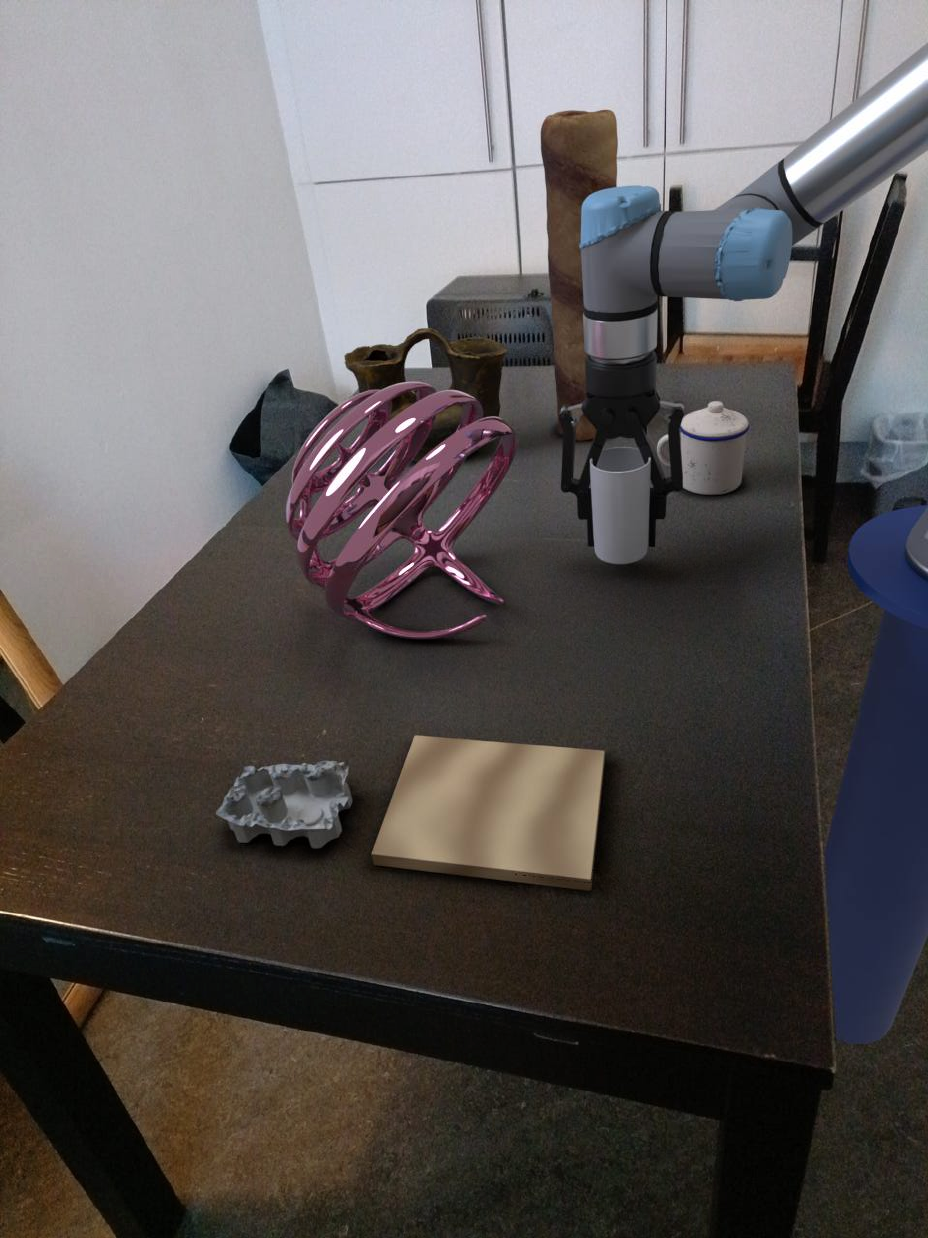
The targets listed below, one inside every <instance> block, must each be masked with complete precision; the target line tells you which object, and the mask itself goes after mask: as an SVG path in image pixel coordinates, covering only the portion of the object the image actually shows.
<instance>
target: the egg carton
mask: <svg viewBox="0 0 928 1238" xmlns="http://www.w3.org/2000/svg"><path fill="white" fill-rule="evenodd" d="M349 768H350V765H349V764H348V763H347V762H345V761H342V762H340V761H338V760H321V761H316V764H310V763H306V762H302V763H301V764H289V763H279V764H272V765H269V766H262V767H260V768H257V767H256V766H255V765H248V766H243V768H242V773H241V775H240V777H239V776H237V777H236V778H235V781H234V784H233V786H231V788H229V791H228V793H227V794H226V795H225V796H224V797H223V802H222V805H221V806H219V808H218V809H217V810H216V812H215V815H217V816H218V817H220V818H222V819H223V820H226V821H227V823H228V825H229V829H230V830H231V831H233V833H234V834H235V838H236V840H237V842H238V843H240V844H241V843H242V844H245V843H246V844H249V843H250V842H251V841H252V840H253V839H254V838H256V837H258V835H262V834H266V835H270V836H271V840H272V843H273V845H274V846H278V847H279V846H280V847H284V846H286V845H288V843H289V842H290V841H291V840H294V839H295V838H298V837H305V838H307V839H308V842H309V845H310V847H311V848H312V849H322V848H323V847H324V846H325V845H326V844H327V843H329V842H330V841H332V840H335V839H337V838H339V837H340V835H341V833H342V832H343V828H342V824H341V820H340V817H339V813H340V812H341V811H343V810H348V809H350V808H351V806H352V804H353V797H352V793H351V790H350V789H351V788H350V787H349V784H348V782H346V779H347V776H348V775H349Z"/></svg>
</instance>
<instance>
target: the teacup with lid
mask: <svg viewBox="0 0 928 1238" xmlns="http://www.w3.org/2000/svg"><path fill="white" fill-rule="evenodd" d="M749 430H750V423H749V420H748V418H747V417H746V416H745V415H744V414H742V413H740V412H738V411H735V410H731V409H728V408H726V407H724V403H723V402H722V401H719V400H714V401H710V402H709V403H708V404H707V407H704V408H702V409H698V410H694V411H692V412H689V413H687V414H686V415H684V416H683V420H682V423H681V426H680V439H681V454H682V469H683V489H685V490H686V491H688V492H690V493H694V494H697V495H703V496H719V495H724V494H728V493H731V492H733V491H735V490H736V489H738V488H739V487H740V485H741V484H742V482H743V480H742V479H743V472H744V471H743V470H744V463H745V462H744V461H745V453H746V452H745V451H746V442H747V433H748V431H749ZM667 442H669V440H668V433H667V434H665V435H663V436H662V437H661V438H660V439H659V440H658V442H657V446H656V454H657V456H658V459H659V462H660V463H662V464H663V465H664V466H666V467H668V468H671V467H670V459H669V458H667V457H666V456H665V454H664V452H663V447H664V445H665V444H666V443H667Z"/></svg>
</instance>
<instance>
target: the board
mask: <svg viewBox="0 0 928 1238" xmlns="http://www.w3.org/2000/svg"><path fill="white" fill-rule="evenodd" d="M605 764H606V751H605V750H601V749H588V748H578V747H566V746H565V747H564V746H554V745H553V746H552V745H539V744H529V743H528V744H527V743H517V742H515V743H514V742H502V741H491V740H480V739H479V740H478V739H477V740H476V739H467V738H452V737H440V736H429V735H417V734H416V735H414V737H413V738H412V741H411V745H410V748H409V750H408V753H407V756H406V757H405V761H404V764H403V767H402V769H401V772H400V775H399V777H398V780H397V783H396V785H395V788H394V791H393V793H392V797H391V800H390V802H389V804H388V807H387V809H386V813H385V815H384V817H383V821H382V823H381V826H380V830H379V832H378V835H377V837H376V840H375V843H374V845H373V849H372V851H371V853H370V854H371V857H372V861H373V865H374V866H381V867H388V868H395V869H403V870H413V871H421V872H430V873H438V874H446V875H456V876H462V877H471V878H479V879H488V880H497V881H505V882H511V883H512V882H514V883H521V884H529V885H538V886H546V887H554V888H555V887H556V888H563V889H571V890H572V889H573V890H580V891H587V892H591V891H592V887H593V880H594V879H593V878H594V868H595V860H596V849H597V840H598V832H599V821H600V812H601V802H602V793H603V784H604V776H605V775H604V774H605V773H604V772H605V766H606V765H605ZM592 870H593V871H592ZM515 874H517V875H515ZM523 875H526V876H523ZM529 875H530V876H529ZM532 876H535V877H532ZM539 876H540V877H544V878H540V877H539ZM549 878H554V879H549ZM557 879H565V880H557ZM591 879H592V880H591ZM566 880H570V881H566ZM573 880H575V881H581V882H574V881H573ZM583 882H591V883H583Z"/></svg>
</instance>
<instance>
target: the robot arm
mask: <svg viewBox="0 0 928 1238" xmlns="http://www.w3.org/2000/svg"><path fill="white" fill-rule="evenodd" d="M926 152H928V41H927V42H925V44H924V45H922V46H921V47H919V49H917V50H916V51H915V52H914V53H912V54H910V56H909V57H907V58H906V59H904V61H902V62H901V63H900V64H898V65H897V66H896V67H894V69H893V70H891V71H890V72H889V73H888V74H886V75H885V76H884V77H882V78H881V79H879V80H878V81H877V82H876V83H874V85H873V86H871V87H870V88H869V89H868V90H866V91H865V92H864V93H863V94H861V95H860V96H859V97H857V98H856V99H855V100H854V101H853V102H852V103H850V104H849V105H847V106H846V107H845V108H844V109H843V110H841V111H840V112H838V113H837V115H835V116H833V118H831V119H830V120H829V121H827V122H826V123H825V124H824V125H822V126H820V128H819V129H818V130H816V131H815V132H814V133H813V134H812V135H810V136H809V137H808V138H807V139H805V140H804V141H803V142H801V143H800V144H799V145H798V146H796V147H795V148H794V149H793V150H791V151H790V152H789V153H788V154H786V155H785V157H783V158H782V159H781V160H779V161H778V162H777V163H775V164H774V165H773V166H771V167H770V168H769V169H767V170H766V171H764V172H763V174H761V175H760V176H758V177H757V178H756V180H753V182H751V183H750V184H748V186H746V187H745V188H744V189H742V190H741V191H739V192H738V193H737V194H736V195H734V196H733V197H731V198H730V199H728V200H726V201H725V202H724V203H723V204H720V205H719V206H718V207H716V208H715V209H711V210H688V211H671V210H662V204H661V201H660V200H661V198H660V193H659V191H658V189H657V188H655V187H653V186H650V185H639V184H638V185H637V184H636V185H623V186H617V187H614V188H609V189H604V190H600V191H597V192H595V193H592V194H591V195H589V196H588V197H587V198H586V199H585V201H584V202H583V205H582V212H581V243H580V244H579V246H580V249H581V259H582V279H583V299H584V306H583V310H584V313H583V325H584V350H585V352H586V353H587V354H588V356H587V357H586V358H585V383H586V396H585V398H584V400H583V403H581V404H578V405H574V406H570V405H567V404H566V405H563V406H562V408H561V411H560V414H559V421H560V424H561V427H562V430H563V435H562V451H561V452H562V453H561V473H560V474H561V475H560V490H561V492H563V493H565V494H567V493H571V494H574V495H575V496H576V509H577V510H576V511H577V518H578V519H579V521H580V520H581V521H582V520H585V521H586V528H587V529H586V530H587V531H586V532H587V533H586V534H587V547H591V548H592V547H593V548H595V547H594V534H593V514H592V497H591V479H590V459H591V458H592V459H593V465H594V466H595V467H596V466H597V463H598V460H599V457H600V454H601V451H602V450H604V446H605V444H606V441H607V440H613V439H618V438H624V439H634V442H635V444H636V448H637V447H638V448H637V449H639V450H640V453H641V455H642V458H643V461H644V463H645V465H646V464H647V463H648V459H649V457H651V476H650V483H651V484H652V485H651V486H652V487H650V501H649V529H648V548H656V539H657V538H656V536H657V534H656V533H657V520H665V519H666V517H667V496H668V495H669V494H670V493H672V492H675V493H678V492H681V491H682V490H683V489H684V488H683V469H682V454H681V439H680V433H681V430H680V426H681V423H682V420H683V418H684V417H685V404H684V403H685V402H683V401H682V400H675V401H674V402H670V401H665V400H661V397H660V395H659V394H658V391H657V372H658V371H657V365H658V364H657V363H658V355H657V353H656V352H655V350H656V348H657V345H658V314H659V313H658V308H659V305H658V303H659V302H658V301H659V300H658V298H659V297H667V298H668V297H669V298H672V297H673V298H688V299H689V298H690V299H691V298H692V299H712V300H714V299H715V300H727V301H733V302H742V301H745V300H766V299H770V298H772V297H774V296H775V295H777V293H778V292H779V291H780V290H781V288H782V286H783V283H784V279H786V278H787V273H788V270H789V267H790V262H791V256H792V255H791V254H792V248H793V246H795V245H796V244H798V243H799V242H800V241H802V240H803V239H805V238H806V237H807V236H809V235H811V234H812V233H813V232H815V231H816V230H818V229H819V228H820V227H821V226H822V225H823V224H825V223H826V222H828V221H830V220H831V219H832V218H834V217H835V216H837V215H838V214H839V213H841V212H842V211H843V210H845V209H846V208H848V207H850V206H851V205H852V204H853V203H855V202H856V201H858V200H859V199H861V198H862V197H864V196H865V195H867V194H868V193H870V192H871V191H872V190H873V189H875V188H876V187H878V186H879V185H880V184H882V183H883V182H885V181H887V180H888V179H890V178H891V177H892V176H893V175H895V174H897V173H898V172H899V171H901V170H902V169H904V168H905V167H906V166H908V165H909V164H911V163H913V162H914V161H915V160H916V159H918V158H920V157H921V156H923V154H925V153H926ZM658 413H659V414H661V415H662V422H663V423H664V424H666V425H667V434H668V440H669V441H668V451H669V453H668V454H669V460H670V467H669V468H670V476H669V477H666V476H665V473H664V470H663V467H662V464H661V461H660V459H659V457H658V454H657V450H656V448H655V445H654V443H653V440H652V438H651V434H650V430H649V427H648V426H649V424H650V423H651V422H652V420H653V419H654V418H655V417H656V415H657V414H658ZM582 415H585V416H586V418H587V419H588V420H589V421H590V423H591V424H592V425H593V426H594V427H595V429H596V432H595V435H594V438H593V439H592V441H591V445H590V448H589V450H588V453H587V456H586V459H585V462H584V465H583V469H582V471H581V474H580V476H579V479H578V478H576V477H574V473H575V471H574V470H575V456H576V454H575V453H576V440H575V439H576V426H577V425H579V423H580V417H581V416H582ZM904 555H905V559H906V561H907V563H908V565H909V566H910V567H911V569H912V570H913V571H914V572H916V573H917V574H918V575H919V576H921V577H922V578H924V579H925V580H927V581H928V507H927V509H926V510H925V511H924V513H923V514H922V516H921V517H920V518H919V520H918V521H917V523H916V524H915V526H914V527H913V528H912V530H911V532H910V534H909V536H908V539H907V542H906V546H905V551H904Z"/></svg>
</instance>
